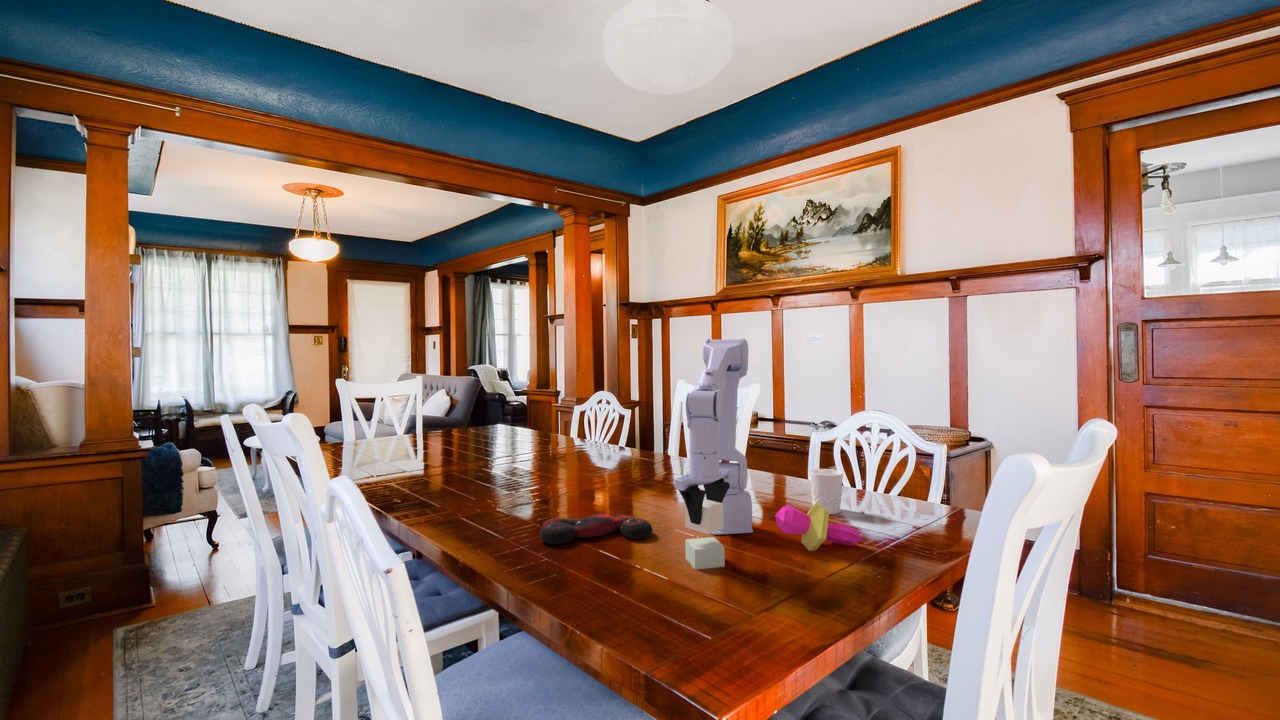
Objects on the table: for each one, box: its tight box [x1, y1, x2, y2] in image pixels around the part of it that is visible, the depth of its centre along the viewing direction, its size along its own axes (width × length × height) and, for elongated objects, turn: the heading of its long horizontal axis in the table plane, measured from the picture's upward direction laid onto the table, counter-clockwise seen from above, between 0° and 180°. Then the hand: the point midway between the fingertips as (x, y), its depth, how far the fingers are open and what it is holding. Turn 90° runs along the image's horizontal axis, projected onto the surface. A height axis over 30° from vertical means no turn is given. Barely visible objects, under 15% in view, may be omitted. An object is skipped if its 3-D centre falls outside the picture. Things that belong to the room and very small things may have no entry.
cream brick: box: [684, 498, 723, 535], centre depth 115 cm, size 4×6×5 cm
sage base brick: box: [684, 536, 726, 570], centre depth 115 cm, size 6×6×4 cm
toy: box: [774, 503, 863, 552], centre depth 123 cm, size 10×18×10 cm, turn 90°
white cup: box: [810, 468, 843, 515], centre depth 149 cm, size 8×8×10 cm
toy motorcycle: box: [539, 513, 654, 545], centre depth 134 cm, size 25×5×16 cm
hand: (704, 520), depth 115 cm, fingers closed on cream brick, 4 cm apart
